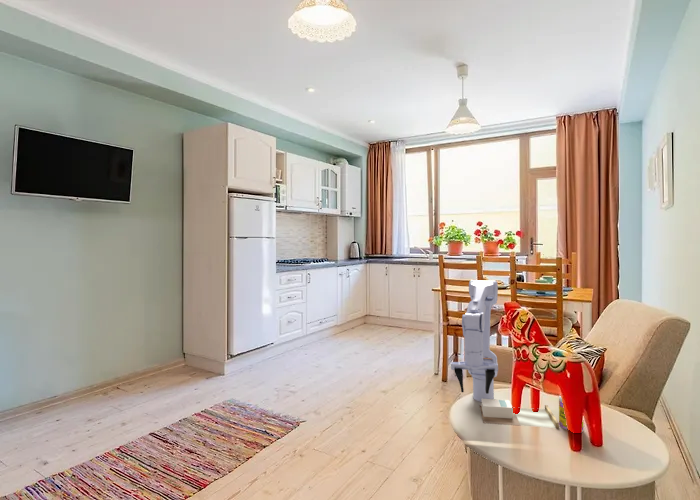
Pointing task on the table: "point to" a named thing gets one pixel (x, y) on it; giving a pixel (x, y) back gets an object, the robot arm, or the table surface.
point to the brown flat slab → (526, 418)
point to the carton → (497, 408)
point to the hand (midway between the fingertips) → (474, 391)
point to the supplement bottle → (563, 415)
